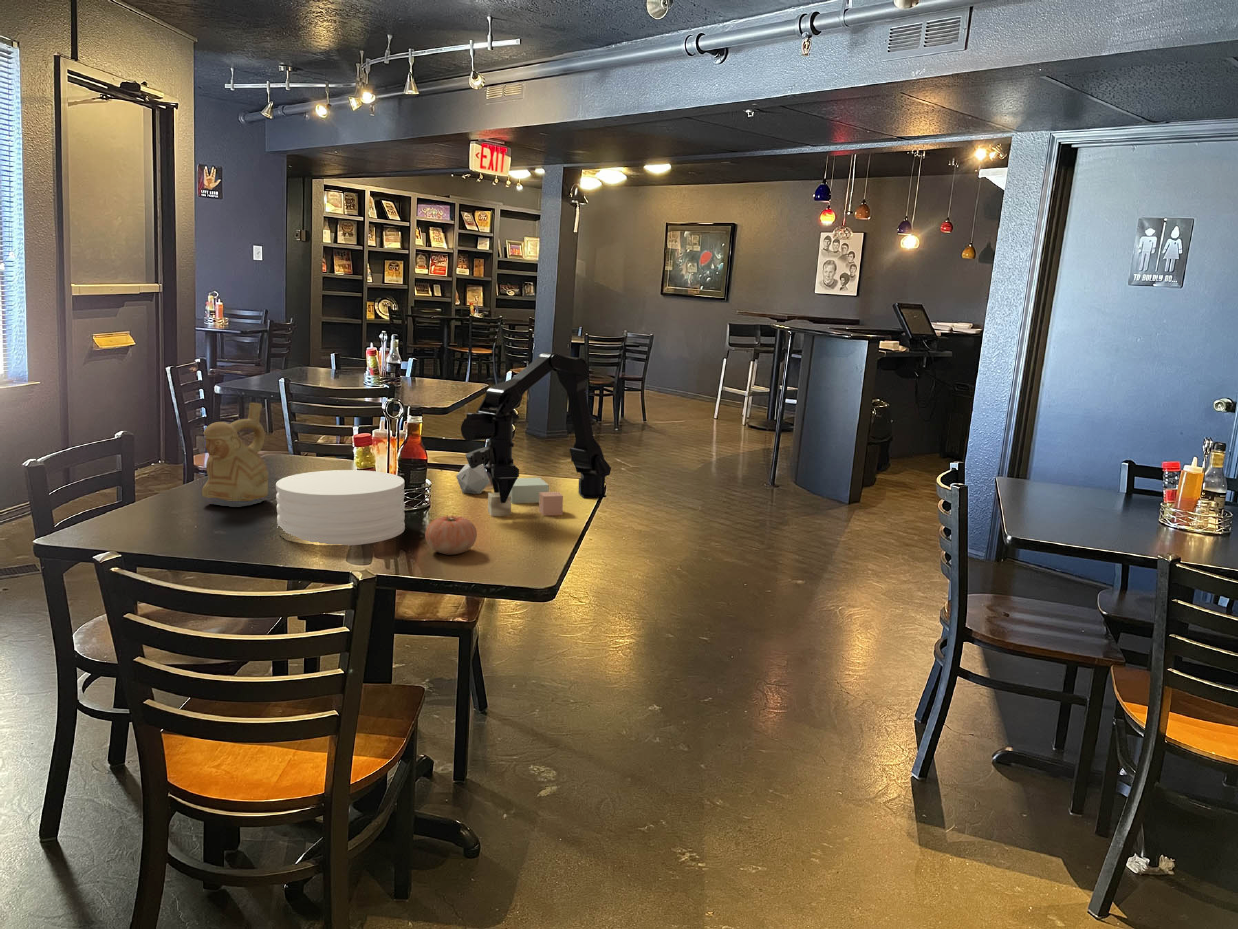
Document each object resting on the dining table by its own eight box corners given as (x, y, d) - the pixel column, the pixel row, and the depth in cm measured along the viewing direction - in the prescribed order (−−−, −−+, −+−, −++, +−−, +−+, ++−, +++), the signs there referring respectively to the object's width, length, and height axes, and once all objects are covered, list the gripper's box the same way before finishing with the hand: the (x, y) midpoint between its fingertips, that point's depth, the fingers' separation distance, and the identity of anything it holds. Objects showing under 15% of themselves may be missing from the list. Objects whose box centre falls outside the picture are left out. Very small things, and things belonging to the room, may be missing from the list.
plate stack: (430, 529, 215) (430, 481, 213) (332, 554, 192) (331, 500, 190) (350, 510, 230) (349, 465, 228) (251, 531, 207) (249, 481, 205)
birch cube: (507, 511, 234) (507, 492, 234) (511, 516, 230) (511, 496, 229) (488, 512, 233) (488, 492, 232) (491, 516, 228) (491, 497, 227)
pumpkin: (421, 547, 199) (421, 511, 197) (470, 544, 203) (471, 509, 201) (430, 561, 189) (429, 523, 187) (481, 557, 193) (482, 520, 191)
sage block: (539, 495, 256) (539, 477, 255) (548, 503, 246) (548, 484, 245) (504, 496, 252) (504, 478, 251) (511, 504, 243) (512, 486, 242)
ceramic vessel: (183, 507, 226) (178, 406, 222) (239, 492, 244) (235, 399, 240) (240, 514, 221) (236, 411, 216) (293, 498, 239) (290, 403, 235)
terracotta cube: (557, 510, 237) (558, 491, 236) (562, 515, 233) (562, 495, 232) (538, 511, 236) (539, 492, 235) (543, 515, 231) (543, 496, 230)
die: (455, 491, 258) (448, 468, 251) (479, 474, 262) (472, 451, 255) (473, 506, 254) (466, 483, 247) (497, 488, 257) (490, 465, 250)
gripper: (463, 432, 234) (462, 492, 237) (473, 444, 217) (473, 508, 220) (506, 432, 238) (505, 490, 240) (519, 443, 220) (519, 506, 223)
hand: (499, 498), depth 231 cm, fingers open, 9 cm apart
